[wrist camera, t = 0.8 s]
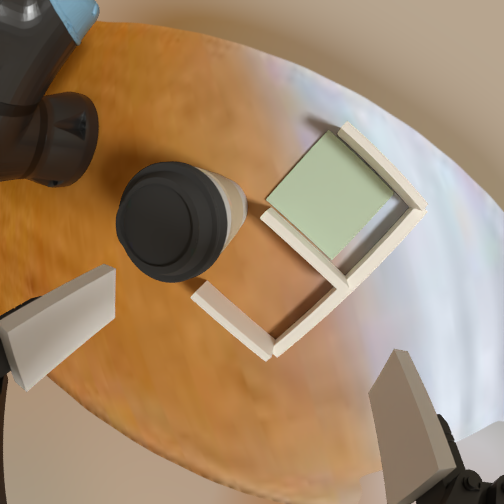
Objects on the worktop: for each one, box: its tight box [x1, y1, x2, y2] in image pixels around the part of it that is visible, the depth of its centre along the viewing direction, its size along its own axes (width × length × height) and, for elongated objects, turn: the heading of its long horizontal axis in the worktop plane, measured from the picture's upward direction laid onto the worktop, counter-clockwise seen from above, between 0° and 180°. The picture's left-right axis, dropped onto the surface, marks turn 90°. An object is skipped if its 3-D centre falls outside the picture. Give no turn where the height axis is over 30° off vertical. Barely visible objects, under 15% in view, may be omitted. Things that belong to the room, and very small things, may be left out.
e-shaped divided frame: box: [191, 121, 428, 361], centre depth 30 cm, size 13×25×4 cm, turn 139°
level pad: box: [266, 130, 394, 260], centre depth 30 cm, size 10×10×1 cm
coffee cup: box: [116, 162, 248, 283], centre depth 25 cm, size 9×9×15 cm
